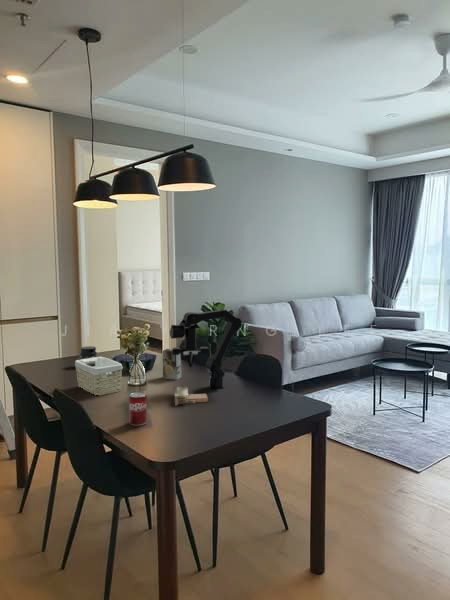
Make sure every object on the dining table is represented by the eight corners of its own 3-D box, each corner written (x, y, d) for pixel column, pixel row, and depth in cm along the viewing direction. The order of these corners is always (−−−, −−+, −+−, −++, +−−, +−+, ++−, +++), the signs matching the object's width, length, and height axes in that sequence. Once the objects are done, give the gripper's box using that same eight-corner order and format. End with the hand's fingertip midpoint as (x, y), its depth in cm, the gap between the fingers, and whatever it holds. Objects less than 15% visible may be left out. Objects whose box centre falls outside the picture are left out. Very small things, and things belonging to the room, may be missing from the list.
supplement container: (84, 364, 297) (83, 345, 296) (99, 364, 296) (99, 346, 294) (76, 368, 287) (76, 349, 286) (92, 368, 285) (92, 349, 284)
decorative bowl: (135, 380, 265) (135, 363, 264) (101, 370, 280) (102, 354, 279) (164, 371, 287) (165, 355, 285) (131, 362, 301) (132, 347, 300)
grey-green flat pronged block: (193, 395, 229) (193, 386, 229) (195, 404, 214) (195, 395, 214) (174, 395, 228) (174, 387, 228) (175, 405, 213) (175, 395, 213)
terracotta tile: (205, 398, 226) (205, 393, 226) (207, 402, 219) (207, 397, 219) (177, 399, 224) (177, 394, 223) (178, 404, 217) (178, 399, 217)
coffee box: (181, 377, 264) (181, 349, 263) (176, 380, 258) (176, 351, 257) (167, 375, 268) (167, 348, 266) (162, 378, 262) (162, 350, 260)
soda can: (130, 420, 193) (129, 392, 192) (147, 419, 194) (147, 391, 193) (128, 426, 186) (127, 397, 185) (146, 426, 187) (146, 397, 186)
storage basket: (124, 391, 236) (123, 363, 235) (94, 397, 225) (93, 368, 224) (102, 382, 254) (102, 355, 252) (74, 387, 243) (73, 360, 242)
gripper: (206, 334, 245) (207, 363, 247) (171, 335, 243) (171, 364, 244) (209, 337, 234) (209, 368, 236) (172, 338, 232) (172, 369, 233)
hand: (190, 367), depth 237 cm, fingers closed
